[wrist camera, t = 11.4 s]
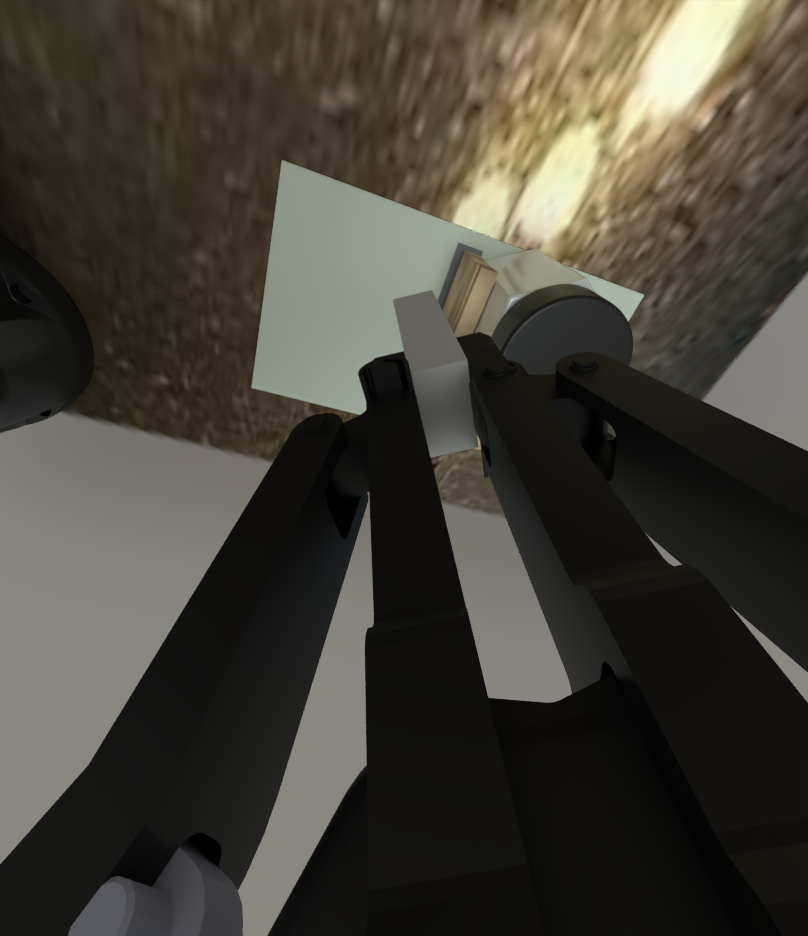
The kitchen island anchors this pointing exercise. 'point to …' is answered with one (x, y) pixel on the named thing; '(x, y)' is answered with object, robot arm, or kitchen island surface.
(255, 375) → the board
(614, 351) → the jar
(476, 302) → the fence panel
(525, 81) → the kitchen island surface
